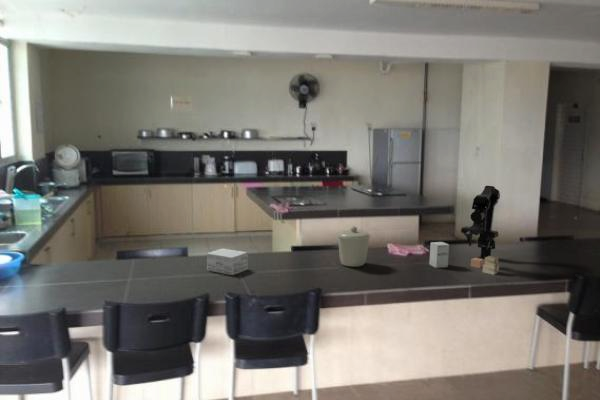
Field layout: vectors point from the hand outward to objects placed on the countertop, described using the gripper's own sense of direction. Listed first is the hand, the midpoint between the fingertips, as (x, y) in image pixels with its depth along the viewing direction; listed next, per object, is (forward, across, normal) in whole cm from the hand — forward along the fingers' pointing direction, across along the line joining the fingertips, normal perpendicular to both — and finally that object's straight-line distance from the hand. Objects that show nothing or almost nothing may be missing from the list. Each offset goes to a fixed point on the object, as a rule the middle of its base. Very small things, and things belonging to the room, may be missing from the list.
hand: (478, 247), depth 279 cm
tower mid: (+6, +10, -6) cm, 13 cm away
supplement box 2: (+10, -88, -102) cm, 135 cm away
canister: (+10, -49, -47) cm, 69 cm away
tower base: (+10, +10, -6) cm, 16 cm away
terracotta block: (+10, 0, 0) cm, 11 cm away
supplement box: (+10, -15, -15) cm, 24 cm away
